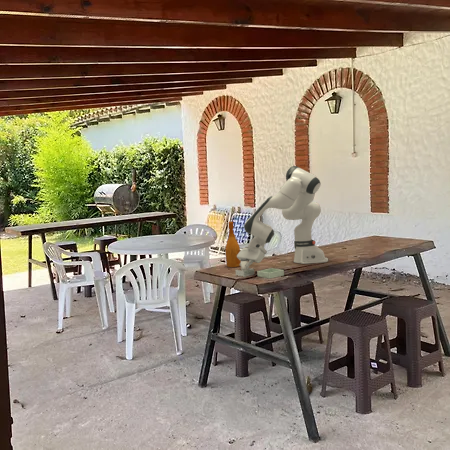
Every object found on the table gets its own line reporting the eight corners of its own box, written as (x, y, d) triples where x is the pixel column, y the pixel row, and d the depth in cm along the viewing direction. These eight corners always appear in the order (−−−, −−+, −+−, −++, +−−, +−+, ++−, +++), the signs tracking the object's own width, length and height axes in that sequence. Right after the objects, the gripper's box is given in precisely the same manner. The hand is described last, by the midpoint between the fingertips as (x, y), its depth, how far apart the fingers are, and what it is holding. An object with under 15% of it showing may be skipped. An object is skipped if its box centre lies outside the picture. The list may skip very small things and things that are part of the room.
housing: (246, 272, 313) (245, 267, 313) (254, 274, 307) (254, 268, 307) (235, 275, 309) (235, 269, 308) (244, 276, 302) (243, 271, 302)
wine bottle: (237, 268, 332) (233, 222, 329) (223, 267, 337) (220, 222, 334) (243, 265, 340) (240, 220, 337) (230, 264, 345) (227, 220, 342)
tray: (271, 273, 308) (271, 267, 307) (284, 275, 299) (283, 269, 298) (257, 276, 301) (257, 271, 301) (269, 278, 292) (269, 273, 292)
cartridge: (248, 274, 309) (247, 257, 308) (247, 275, 306) (246, 259, 305) (242, 274, 310) (241, 258, 309) (241, 275, 306) (240, 259, 305)
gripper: (241, 243, 319) (230, 261, 314) (262, 245, 302) (251, 264, 297) (247, 249, 322) (236, 267, 317) (268, 252, 305) (257, 271, 300)
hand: (243, 266), depth 307 cm, fingers closed on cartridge, 4 cm apart
